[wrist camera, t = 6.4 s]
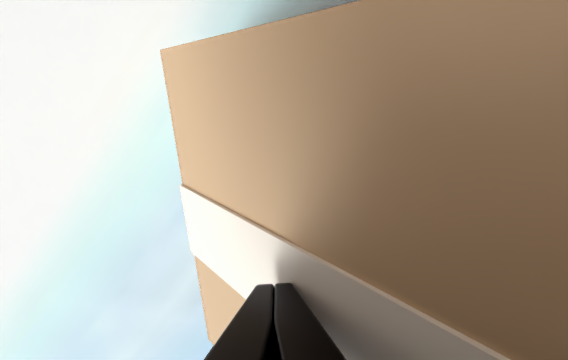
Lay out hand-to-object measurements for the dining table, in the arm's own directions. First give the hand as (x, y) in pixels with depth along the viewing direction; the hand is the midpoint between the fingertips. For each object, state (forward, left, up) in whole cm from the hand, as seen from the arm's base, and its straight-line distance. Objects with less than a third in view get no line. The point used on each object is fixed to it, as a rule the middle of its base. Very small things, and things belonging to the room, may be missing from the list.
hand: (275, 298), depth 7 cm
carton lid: (-2, 0, +1) cm, 2 cm away
